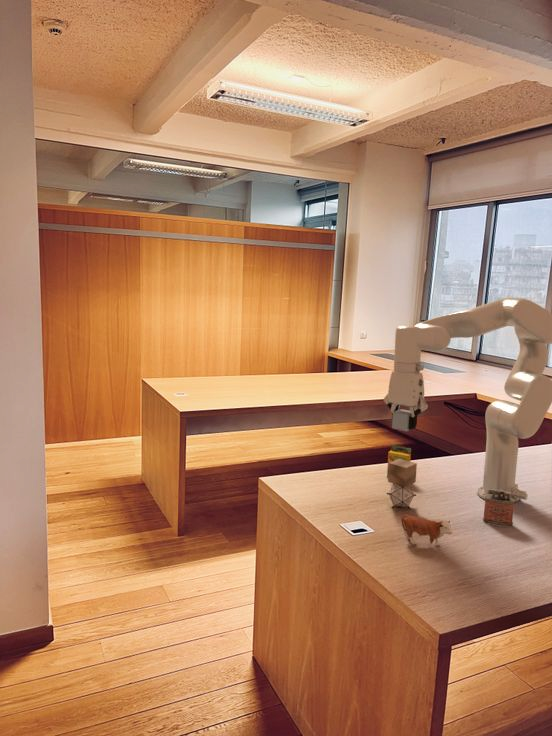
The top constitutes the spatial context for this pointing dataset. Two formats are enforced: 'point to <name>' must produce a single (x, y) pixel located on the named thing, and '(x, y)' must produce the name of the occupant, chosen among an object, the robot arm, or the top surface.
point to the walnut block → (402, 472)
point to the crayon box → (398, 455)
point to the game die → (401, 495)
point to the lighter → (499, 508)
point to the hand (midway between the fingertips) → (403, 426)
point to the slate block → (401, 420)
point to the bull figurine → (425, 528)
